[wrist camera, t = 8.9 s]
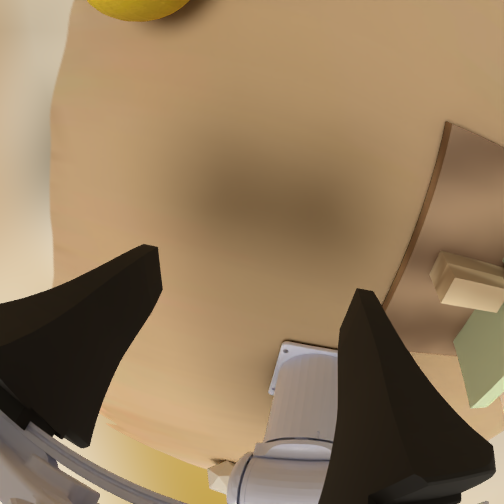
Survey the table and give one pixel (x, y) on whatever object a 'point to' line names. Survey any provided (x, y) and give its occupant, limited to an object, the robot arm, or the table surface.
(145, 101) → the table surface
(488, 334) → the slotted plate
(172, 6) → the lemon
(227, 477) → the die
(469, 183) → the base
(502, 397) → the cup
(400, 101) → the table surface
